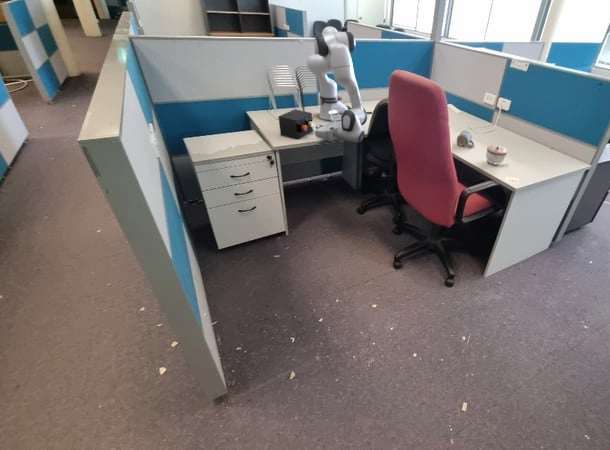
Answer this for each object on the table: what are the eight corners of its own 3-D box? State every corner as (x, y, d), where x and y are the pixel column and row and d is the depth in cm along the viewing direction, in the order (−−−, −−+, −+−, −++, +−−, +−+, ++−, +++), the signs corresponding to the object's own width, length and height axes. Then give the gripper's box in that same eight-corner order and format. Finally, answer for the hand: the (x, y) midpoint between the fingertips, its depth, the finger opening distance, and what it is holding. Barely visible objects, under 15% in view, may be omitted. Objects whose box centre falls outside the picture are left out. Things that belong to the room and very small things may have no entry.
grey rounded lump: (454, 145, 201) (457, 132, 196) (459, 140, 207) (461, 129, 202) (471, 149, 197) (474, 137, 193) (475, 145, 203) (478, 133, 199)
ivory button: (311, 125, 199) (311, 120, 197) (314, 126, 199) (313, 121, 197) (308, 127, 197) (308, 122, 195) (311, 127, 196) (310, 122, 194)
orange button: (304, 129, 194) (304, 123, 192) (307, 129, 194) (307, 124, 192) (301, 130, 192) (301, 125, 190) (304, 131, 191) (304, 126, 189)
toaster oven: (298, 126, 210) (297, 108, 203) (316, 130, 206) (315, 112, 199) (280, 135, 196) (278, 116, 189) (299, 139, 192) (297, 120, 185)
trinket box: (485, 156, 190) (489, 141, 184) (504, 161, 187) (509, 145, 181) (482, 164, 182) (486, 148, 176) (502, 168, 179) (507, 152, 173)
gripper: (346, 120, 196) (326, 116, 200) (328, 131, 181) (307, 126, 185) (346, 131, 200) (326, 126, 204) (328, 142, 184) (307, 137, 188)
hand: (317, 126), depth 194 cm, fingers closed
